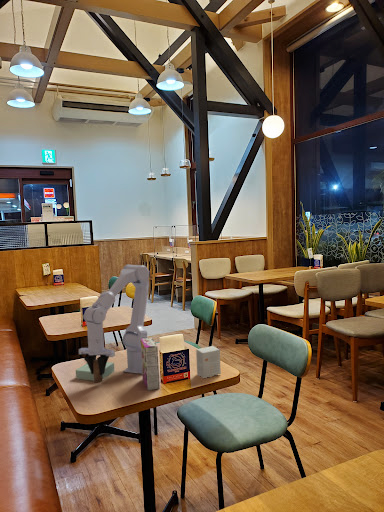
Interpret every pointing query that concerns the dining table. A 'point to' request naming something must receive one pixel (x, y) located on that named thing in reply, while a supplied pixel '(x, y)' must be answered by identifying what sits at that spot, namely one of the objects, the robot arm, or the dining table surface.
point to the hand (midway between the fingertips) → (97, 373)
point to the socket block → (86, 374)
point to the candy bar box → (150, 363)
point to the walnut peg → (96, 372)
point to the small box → (208, 361)
